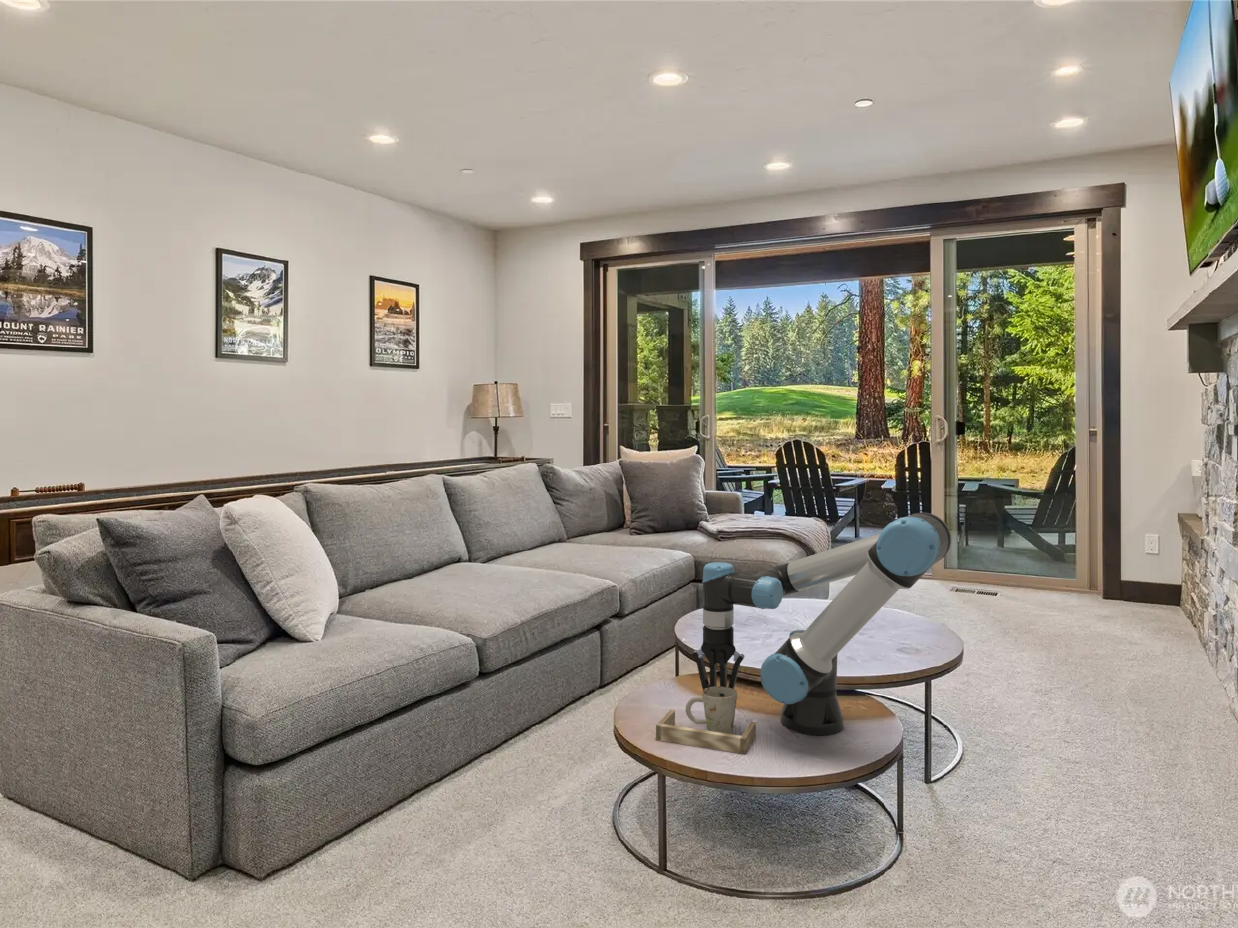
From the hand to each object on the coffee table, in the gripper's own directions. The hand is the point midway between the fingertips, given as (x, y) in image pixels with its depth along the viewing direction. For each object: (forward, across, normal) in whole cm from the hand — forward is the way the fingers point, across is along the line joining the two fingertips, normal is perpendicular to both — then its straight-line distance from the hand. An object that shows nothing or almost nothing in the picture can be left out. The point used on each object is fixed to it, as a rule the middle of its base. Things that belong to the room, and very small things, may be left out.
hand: (718, 719), depth 201 cm
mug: (+1, 0, +6) cm, 6 cm away
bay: (+1, +1, +10) cm, 10 cm away
